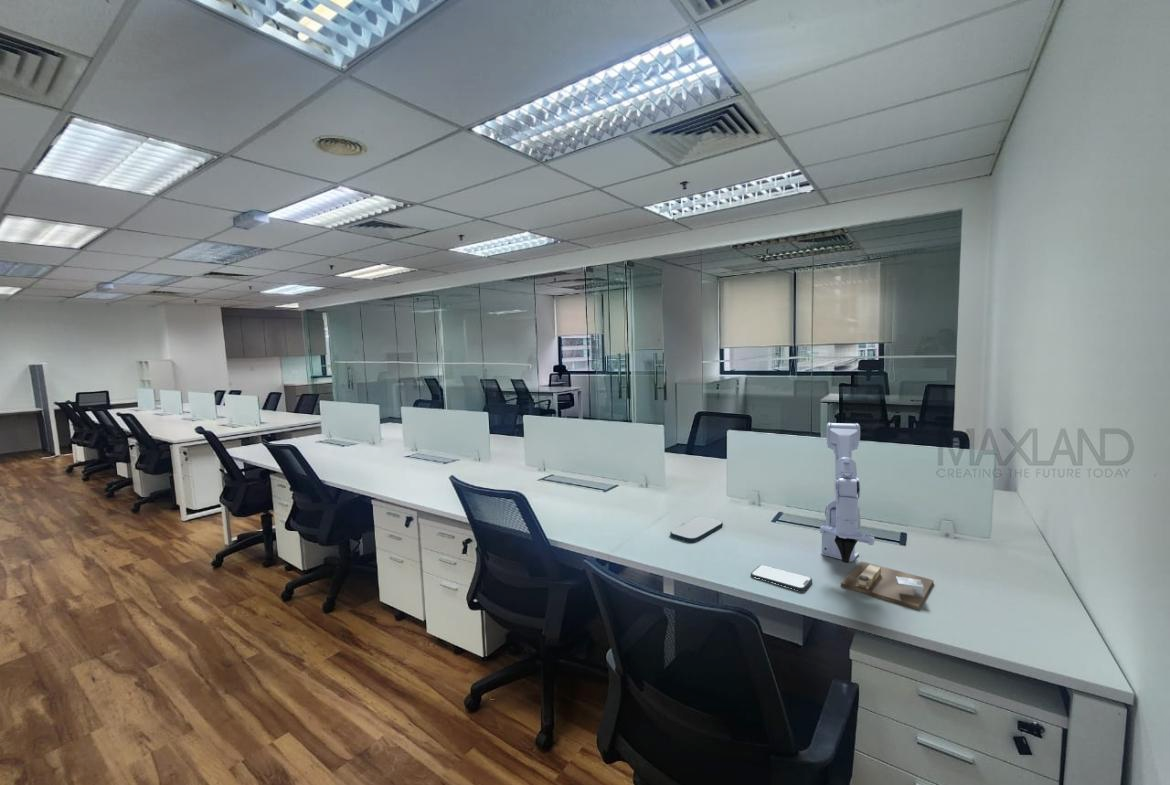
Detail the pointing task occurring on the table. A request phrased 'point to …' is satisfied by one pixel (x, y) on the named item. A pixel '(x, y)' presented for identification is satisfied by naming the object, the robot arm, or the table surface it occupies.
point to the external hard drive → (696, 529)
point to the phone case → (782, 577)
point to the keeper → (911, 585)
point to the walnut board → (888, 586)
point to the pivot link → (868, 576)
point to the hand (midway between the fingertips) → (845, 561)
